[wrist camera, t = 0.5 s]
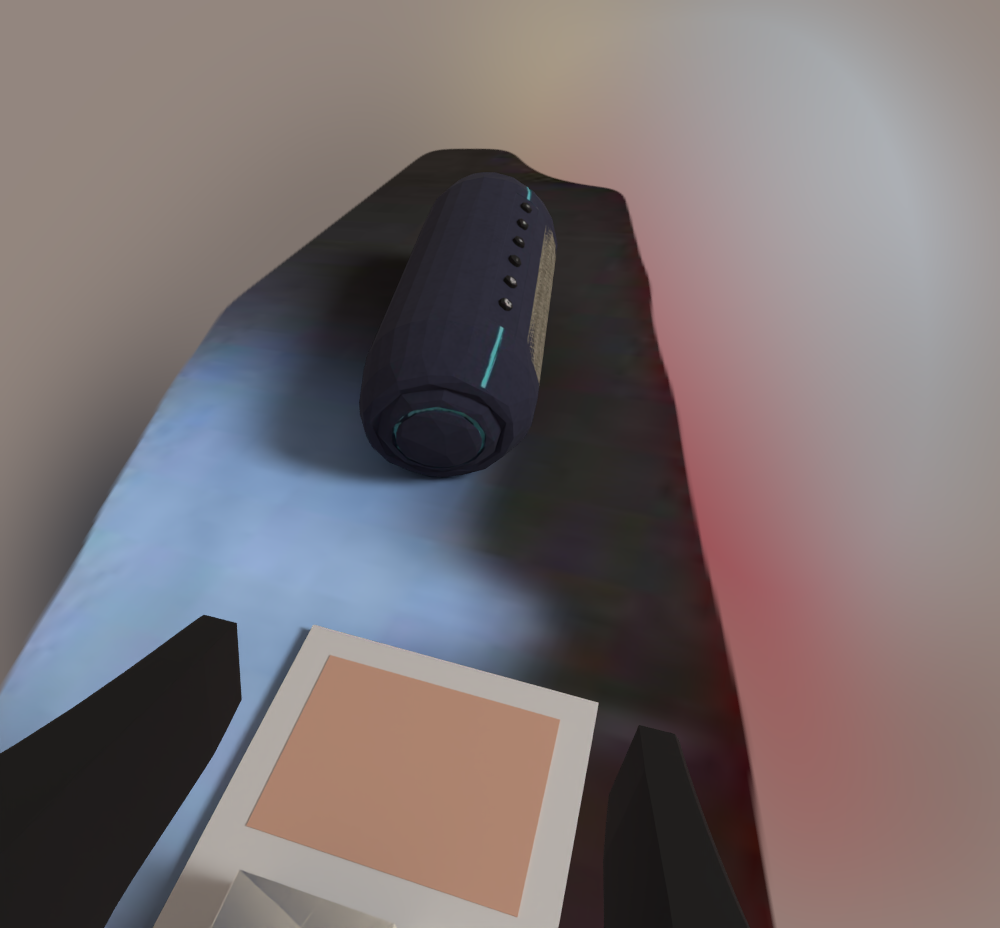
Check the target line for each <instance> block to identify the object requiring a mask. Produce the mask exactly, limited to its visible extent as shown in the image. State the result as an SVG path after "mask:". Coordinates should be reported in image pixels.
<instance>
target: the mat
mask: <svg viewBox="0 0 1000 928" xmlns="http://www.w3.org/2000/svg"><path fill="white" fill-rule="evenodd" d="M597 709H598V703H597V702H594V701H590V700H586V699H583V698H579V697H575V696H572V695H568V694H565V693H561V692H557V691H554V690H550V689H546V688H543V687H539V686H535V685H532V684H528V683H524V682H521V681H517V680H513V679H510V678H506V677H502V676H499V675H495V674H492V673H488V672H484V671H481V670H477V669H473V668H470V667H466V666H462V665H459V664H455V663H451V662H448V661H444V660H440V659H437V658H433V657H430V656H426V655H422V654H419V653H415V652H411V651H408V650H404V649H400V648H397V647H393V646H389V645H386V644H382V643H378V642H375V641H371V640H367V639H364V638H360V637H357V636H353V635H349V634H346V633H342V632H338V631H335V630H331V629H327V628H324V627H320V626H316V625H313V626H312V628H311V630H310V632H309V634H308V636H307V638H306V640H305V641H304V643H303V645H302V647H301V649H300V651H299V653H298V655H297V657H296V658H295V660H294V662H293V664H292V666H291V668H290V670H289V672H288V673H287V675H286V677H285V679H284V681H283V683H282V685H281V687H280V689H279V690H278V692H277V694H276V696H275V698H274V700H273V702H272V704H271V706H270V707H269V709H268V711H267V713H266V715H265V717H264V719H263V721H262V723H261V724H260V726H259V728H258V730H257V732H256V734H255V736H254V738H253V740H252V741H251V743H250V745H249V747H248V749H247V751H246V753H245V755H244V757H243V758H242V760H241V762H240V764H239V766H238V768H237V770H236V772H235V773H234V775H233V777H232V779H231V781H230V783H229V785H228V787H227V789H226V790H225V792H224V794H223V796H222V798H221V800H220V802H219V804H218V806H217V807H216V809H215V811H214V813H213V815H212V817H211V819H210V821H209V823H208V824H207V826H206V828H205V830H204V832H203V834H202V836H201V838H200V840H199V841H198V843H197V845H196V847H195V849H194V851H193V853H192V855H191V856H190V858H189V860H188V862H187V864H186V866H185V868H184V870H183V872H182V873H181V875H180V877H179V879H178V881H177V883H176V885H175V887H174V889H173V890H172V892H171V894H170V896H169V898H168V900H167V902H166V904H165V906H164V907H163V909H162V911H161V913H160V915H159V917H158V919H157V921H156V923H155V924H154V926H153V928H211V927H212V924H213V922H214V920H215V918H216V916H217V914H218V912H219V910H220V908H221V906H222V904H223V902H224V899H225V897H226V895H227V893H228V891H229V889H230V887H231V885H232V883H233V881H234V879H235V876H236V874H237V872H238V870H239V869H240V870H243V871H246V872H248V873H251V874H254V875H257V876H260V877H263V878H266V879H268V880H271V881H274V882H277V883H280V884H283V885H286V886H288V887H291V888H294V889H297V890H300V891H303V892H306V893H308V894H311V895H314V896H317V897H320V898H323V899H326V900H328V901H331V902H334V903H337V904H340V905H343V906H346V907H348V908H351V909H354V910H357V911H360V912H363V913H366V914H368V915H371V916H374V917H377V918H380V919H383V920H386V921H388V922H391V923H394V924H395V925H396V927H397V928H558V926H559V921H560V915H561V910H562V904H563V898H564V893H565V887H566V882H567V876H568V871H569V865H570V859H571V854H572V848H573V843H574V837H575V832H576V826H577V820H578V815H579V809H580V804H581V798H582V792H583V787H584V781H585V776H586V770H587V765H588V759H589V753H590V748H591V742H592V737H593V731H594V726H595V720H596V714H597Z"/></svg>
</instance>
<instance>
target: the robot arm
mask: <svg viewBox="0 0 1000 928" xmlns="http://www.w3.org/2000/svg"><path fill="white" fill-rule="evenodd" d="M241 700H242V698H241V683H240V667H239V652H238V636H237V623H234V622H230V621H226V620H222V619H219V618H215V617H211V616H207V615H203V616H201V617H200V618H198V619H197V620H195V621H194V622H192V623H191V624H190V625H188V626H187V627H186V628H184V629H183V630H181V631H180V632H179V633H177V634H176V635H175V636H173V637H172V638H171V639H169V640H168V641H167V642H165V643H164V644H162V645H161V646H160V647H158V648H157V649H156V650H154V651H153V652H152V653H150V654H149V655H147V656H146V657H145V658H143V659H142V660H140V661H139V662H138V663H136V664H135V665H134V666H132V667H131V668H129V669H128V670H127V671H125V672H124V673H122V674H121V675H119V676H118V677H117V678H115V679H114V680H112V681H111V682H109V683H108V684H106V685H105V686H104V687H102V688H101V689H99V690H98V691H96V692H95V693H93V694H92V695H91V696H89V697H88V698H86V699H85V700H83V701H82V702H80V703H79V704H77V705H76V706H75V707H73V708H72V709H70V710H69V711H67V712H65V713H64V714H62V715H61V716H59V717H58V718H56V719H54V720H53V721H51V722H50V723H48V724H47V725H45V726H44V727H42V728H40V729H39V730H37V731H36V732H34V733H33V734H31V735H29V736H28V737H26V738H25V739H23V740H22V741H20V742H19V743H17V744H15V745H14V746H12V747H10V748H9V749H7V750H5V751H4V752H2V753H0V928H104V927H105V925H106V923H107V922H108V920H109V918H110V916H111V914H112V912H113V911H114V909H115V907H116V906H117V904H118V902H119V901H120V899H121V897H122V896H123V894H124V892H125V891H126V889H127V887H128V886H129V884H130V883H131V881H132V879H133V878H134V876H135V875H136V873H137V872H138V870H139V869H140V867H141V866H142V864H143V863H144V861H145V859H146V858H147V856H148V855H149V853H150V852H151V850H152V849H153V847H154V846H155V844H156V843H157V841H158V840H159V838H160V837H161V835H162V834H163V832H164V831H165V829H166V827H167V826H168V824H169V823H170V821H171V820H172V818H173V817H174V815H175V814H176V812H177V811H178V809H179V808H180V806H181V805H182V803H183V802H184V800H185V799H186V797H187V795H188V794H189V792H190V791H191V789H192V788H193V786H194V785H195V783H196V782H197V780H198V778H199V777H200V775H201V774H202V772H203V771H204V769H205V768H206V766H207V764H208V763H209V761H210V760H211V758H212V757H213V755H214V753H215V751H216V749H217V747H218V745H219V743H220V742H221V740H222V738H223V736H224V734H225V732H226V730H227V728H228V726H229V724H230V722H231V720H232V718H233V716H234V714H235V712H236V710H237V708H238V706H239V704H240V702H241ZM603 870H604V928H750V927H749V925H748V923H747V921H746V918H745V916H744V914H743V912H742V909H741V907H740V905H739V902H738V900H737V898H736V895H735V893H734V891H733V888H732V886H731V884H730V881H729V879H728V876H727V874H726V871H725V869H724V866H723V864H722V861H721V859H720V856H719V854H718V851H717V849H716V846H715V844H714V841H713V839H712V836H711V834H710V831H709V828H708V826H707V823H706V820H705V817H704V815H703V812H702V809H701V806H700V804H699V801H698V798H697V795H696V792H695V789H694V786H693V783H692V780H691V777H690V774H689V771H688V768H687V765H686V762H685V759H684V756H683V752H682V749H681V746H680V742H679V740H678V738H677V737H676V735H675V734H672V733H668V732H664V731H660V730H656V729H652V728H648V727H645V726H641V725H639V726H638V729H637V731H636V733H635V736H634V738H633V740H632V743H631V745H630V747H629V750H628V752H627V754H626V757H625V759H624V761H623V764H622V766H621V768H620V771H619V773H618V775H617V778H616V780H615V782H614V785H613V787H612V789H611V792H610V794H609V800H608V811H607V822H606V833H605V845H604V858H603Z"/></svg>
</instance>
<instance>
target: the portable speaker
mask: <svg viewBox="0 0 1000 928" xmlns="http://www.w3.org/2000/svg"><path fill="white" fill-rule="evenodd" d="M556 250H557V240H556V235H555V230H554V226H553V221H552V218H551V216H550V214H549V212H548V211H547V209H546V207H545V205H544V203H543V202H542V201H541V200H540V199H539V197H538V196H537V195H536V194H535V193H534V192H533V191H532V190H529V189H528V187H526V186H525V185H523V184H522V183H520V182H519V181H517V180H516V179H514V178H513V177H509V176H506V175H502V174H498V173H491V172H482V173H477V174H472V175H469V176H467V177H465V178H462V179H460V180H459V181H458V182H456V183H455V184H453V185H452V186H451V187H450V188H449V189H447V190H446V191H445V192H444V193H443V194H442V195H441V196H440V197H438V198H437V199H436V201H435V203H434V205H433V207H432V209H431V211H430V213H429V215H428V217H427V219H426V221H425V223H424V225H423V227H422V230H421V232H420V234H419V237H418V239H417V241H416V244H415V246H414V248H413V251H412V253H411V255H410V258H409V260H408V262H407V265H406V267H405V269H404V272H403V274H402V276H401V279H400V281H399V283H398V286H397V288H396V290H395V293H394V295H393V297H392V300H391V302H390V304H389V307H388V309H387V311H386V314H385V316H384V318H383V321H382V323H381V325H380V328H379V330H378V332H377V335H376V337H375V339H374V342H373V344H372V346H371V349H370V351H369V353H368V356H367V358H366V363H365V368H364V373H363V380H362V387H361V394H360V401H359V405H360V416H361V419H362V423H363V426H364V430H365V433H366V436H367V438H368V440H369V442H370V443H371V445H372V447H373V448H374V449H375V450H377V451H378V452H379V453H380V454H381V455H382V456H383V457H384V458H385V459H386V460H388V461H389V462H390V463H393V464H395V465H398V466H400V467H402V468H405V469H407V470H410V471H413V472H417V473H420V474H424V475H428V476H438V477H446V476H456V475H463V474H467V473H471V472H475V471H479V470H483V469H486V468H487V467H488V466H490V465H491V464H493V463H494V462H496V461H497V460H499V459H500V458H501V457H503V456H504V455H506V454H507V453H508V452H509V451H510V450H512V449H513V448H514V447H515V446H517V445H518V443H519V442H520V441H521V440H522V439H523V438H524V437H525V436H526V434H527V432H528V430H529V429H530V427H531V425H532V420H533V416H534V411H535V407H536V403H537V398H538V390H539V382H540V375H541V367H542V358H543V351H544V343H545V335H546V328H547V320H548V313H549V305H550V297H551V289H552V282H553V273H554V266H555V258H556Z"/></svg>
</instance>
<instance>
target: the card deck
mask: <svg viewBox="0 0 1000 928" xmlns="http://www.w3.org/2000/svg"><path fill="white" fill-rule="evenodd" d="M211 928H397V927H396V925H395V924H394V923H391V922H388V921H386V920H383V919H380V918H377V917H374V916H371V915H368V914H366V913H363V912H360V911H357V910H354V909H351V908H348V907H346V906H343V905H340V904H337V903H334V902H331V901H328V900H326V899H323V898H320V897H317V896H314V895H311V894H308V893H306V892H303V891H300V890H297V889H294V888H291V887H288V886H286V885H283V884H280V883H277V882H274V881H271V880H268V879H266V878H263V877H260V876H257V875H254V874H251V873H248V872H246V871H243V870H240V869H239V870H238V872H237V874H236V876H235V879H234V881H233V883H232V885H231V887H230V889H229V891H228V893H227V895H226V897H225V899H224V902H223V904H222V906H221V908H220V910H219V912H218V914H217V916H216V918H215V920H214V922H213V924H212V927H211Z"/></svg>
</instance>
